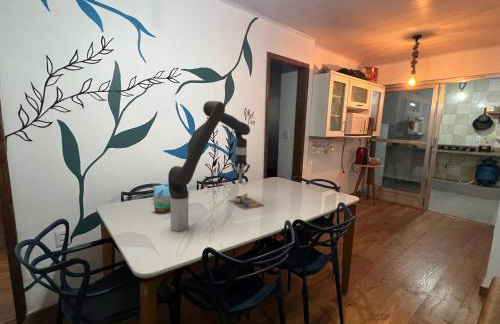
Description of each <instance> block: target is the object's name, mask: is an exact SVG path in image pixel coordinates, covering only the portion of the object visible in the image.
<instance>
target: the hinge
mask: <svg viewBox="0 0 500 324" xmlns="http://www.w3.org/2000/svg"><path fill="white" fill-rule="evenodd" d="M247 197H248V193H247V192H246V193H243V194H242V195H235V196H234V199H235V203H236V204H241V205H243V206H245V207H247V208H249V205H250V202H248V201H246V199H247Z"/></svg>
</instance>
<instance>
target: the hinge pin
mask: <svg viewBox="0 0 500 324" xmlns="http://www.w3.org/2000/svg"><path fill="white" fill-rule="evenodd" d="M238 173H239V177H238V178H237V184H240V185H241V184H242V183H243V179H242V168H239V172H238Z"/></svg>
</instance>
